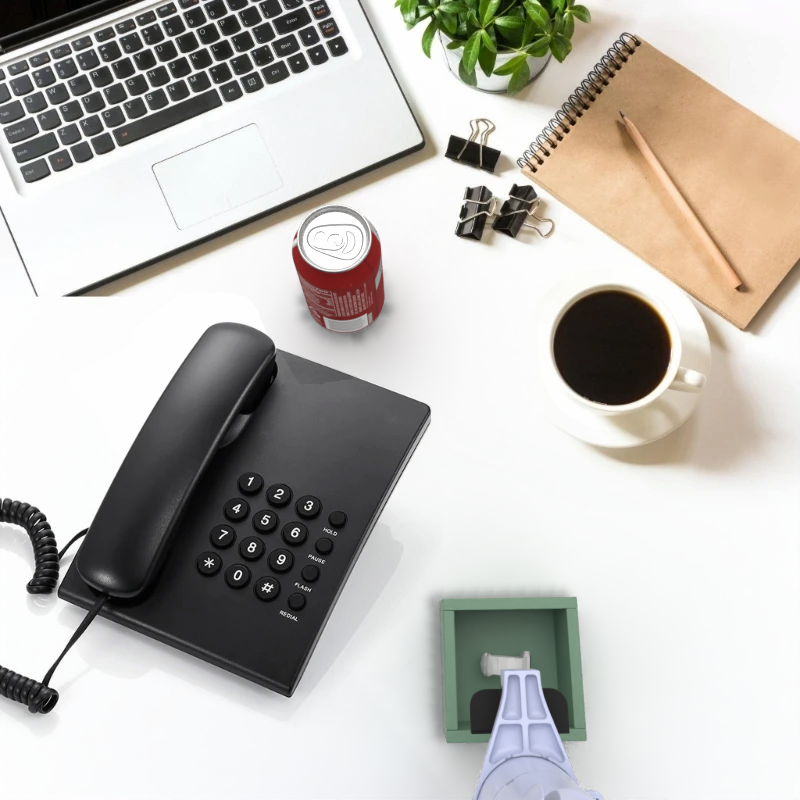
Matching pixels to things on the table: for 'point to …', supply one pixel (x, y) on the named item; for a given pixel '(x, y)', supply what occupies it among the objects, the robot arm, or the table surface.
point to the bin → (508, 654)
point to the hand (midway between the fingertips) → (508, 781)
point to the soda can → (340, 268)
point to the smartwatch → (504, 663)
